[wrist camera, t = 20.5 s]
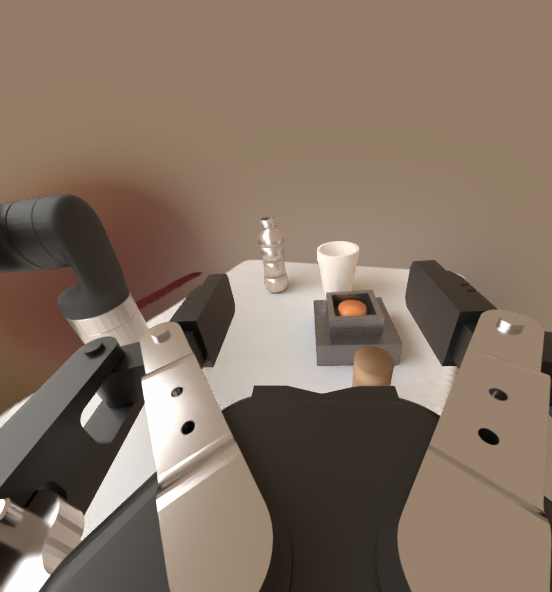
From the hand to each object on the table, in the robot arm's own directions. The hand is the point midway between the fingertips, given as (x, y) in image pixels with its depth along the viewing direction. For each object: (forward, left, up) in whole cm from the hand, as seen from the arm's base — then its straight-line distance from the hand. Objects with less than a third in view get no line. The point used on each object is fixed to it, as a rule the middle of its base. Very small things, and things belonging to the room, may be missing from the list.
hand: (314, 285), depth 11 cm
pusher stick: (+6, +10, -29) cm, 32 cm away
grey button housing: (+7, +29, -30) cm, 42 cm away
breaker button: (+7, +29, -25) cm, 39 cm away
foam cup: (+6, +45, -30) cm, 55 cm away
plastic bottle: (-10, +50, -30) cm, 59 cm away
